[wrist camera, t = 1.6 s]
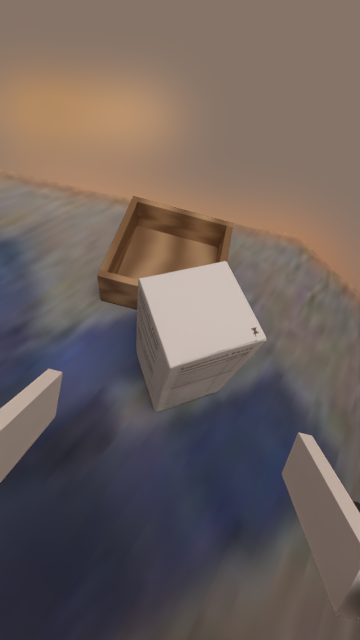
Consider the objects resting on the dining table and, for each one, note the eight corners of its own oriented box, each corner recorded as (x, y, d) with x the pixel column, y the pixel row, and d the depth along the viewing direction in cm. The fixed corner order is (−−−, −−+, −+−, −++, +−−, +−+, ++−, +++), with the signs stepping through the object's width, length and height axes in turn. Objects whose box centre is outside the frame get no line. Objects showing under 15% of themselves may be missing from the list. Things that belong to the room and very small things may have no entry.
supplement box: (196, 332, 44) (229, 257, 29) (220, 391, 40) (273, 338, 26) (133, 349, 41) (135, 275, 27) (153, 414, 37) (168, 369, 23)
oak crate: (100, 300, 44) (97, 275, 39) (132, 224, 53) (133, 196, 47) (208, 328, 45) (219, 307, 39) (223, 248, 53) (233, 223, 48)
